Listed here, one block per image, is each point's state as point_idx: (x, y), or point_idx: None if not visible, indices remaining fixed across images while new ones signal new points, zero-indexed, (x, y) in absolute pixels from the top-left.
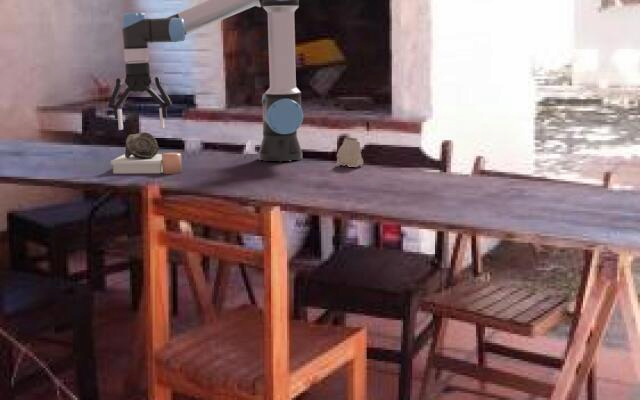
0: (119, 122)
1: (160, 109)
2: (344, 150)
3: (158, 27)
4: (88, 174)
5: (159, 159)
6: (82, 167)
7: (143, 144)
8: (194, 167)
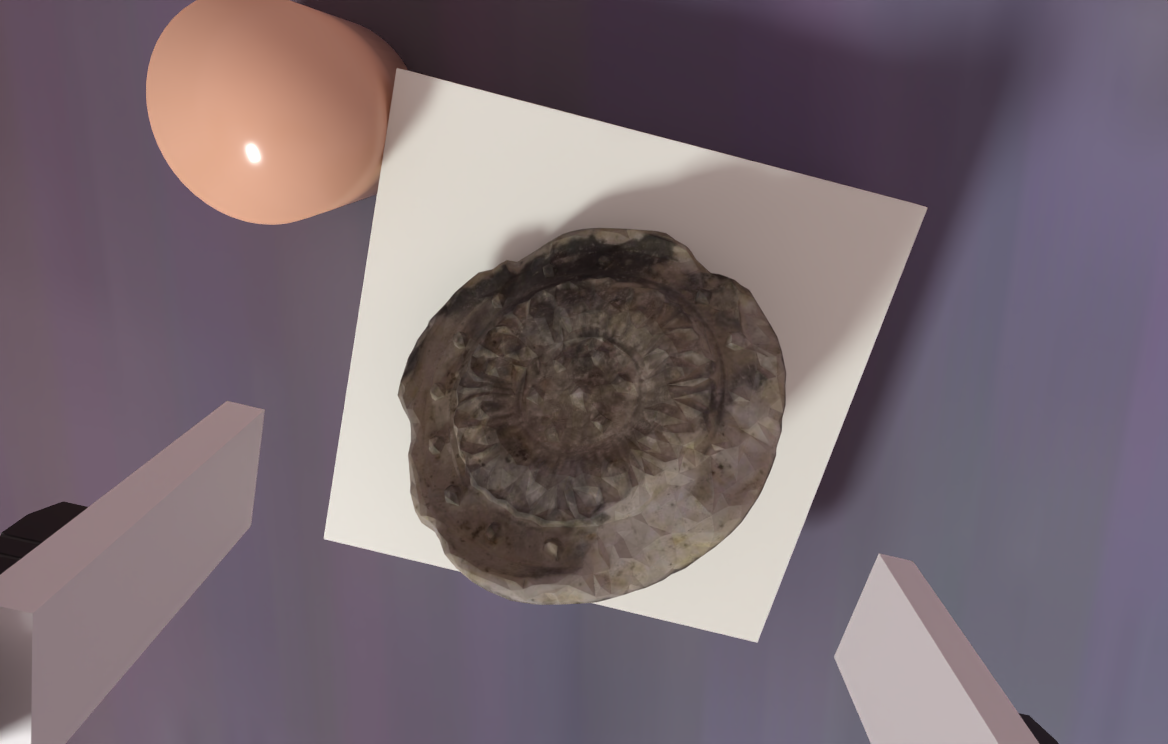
0: (943, 630)
1: (24, 589)
2: None
3: None
4: (1090, 219)
5: (417, 188)
6: (1073, 620)
7: (566, 390)
8: (165, 359)
